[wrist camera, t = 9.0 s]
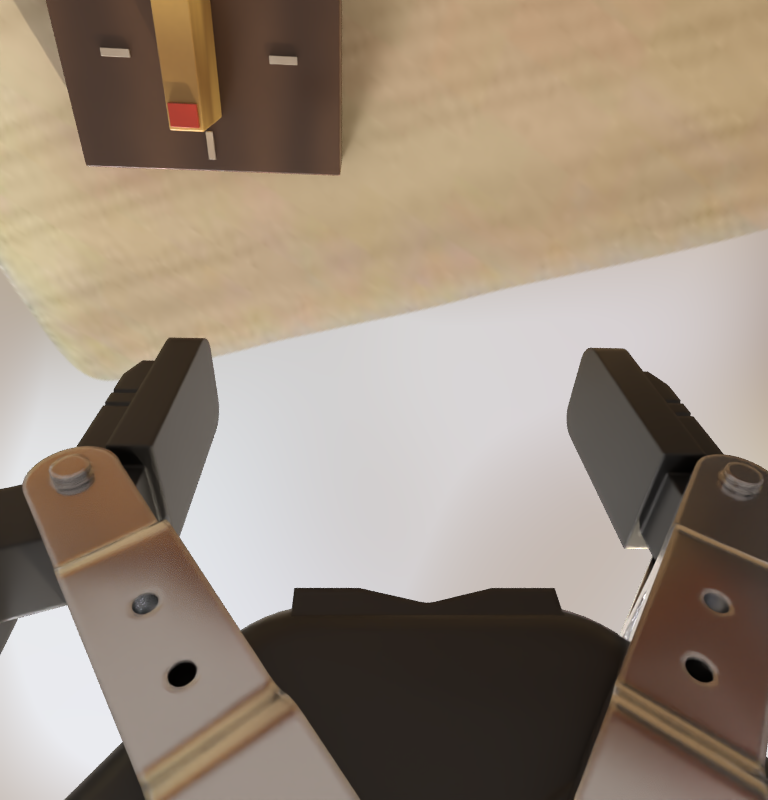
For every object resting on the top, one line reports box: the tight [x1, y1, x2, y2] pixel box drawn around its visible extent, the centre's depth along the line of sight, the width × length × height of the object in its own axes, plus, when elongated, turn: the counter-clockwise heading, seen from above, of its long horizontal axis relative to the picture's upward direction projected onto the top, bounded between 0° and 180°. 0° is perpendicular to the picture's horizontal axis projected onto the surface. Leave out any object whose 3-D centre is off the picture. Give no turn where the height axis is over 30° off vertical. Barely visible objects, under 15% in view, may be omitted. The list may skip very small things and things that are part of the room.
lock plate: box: [46, 0, 342, 176], centre depth 29 cm, size 14×11×3 cm
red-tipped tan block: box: [150, 0, 222, 132], centre depth 26 cm, size 6×2×4 cm, turn 177°
